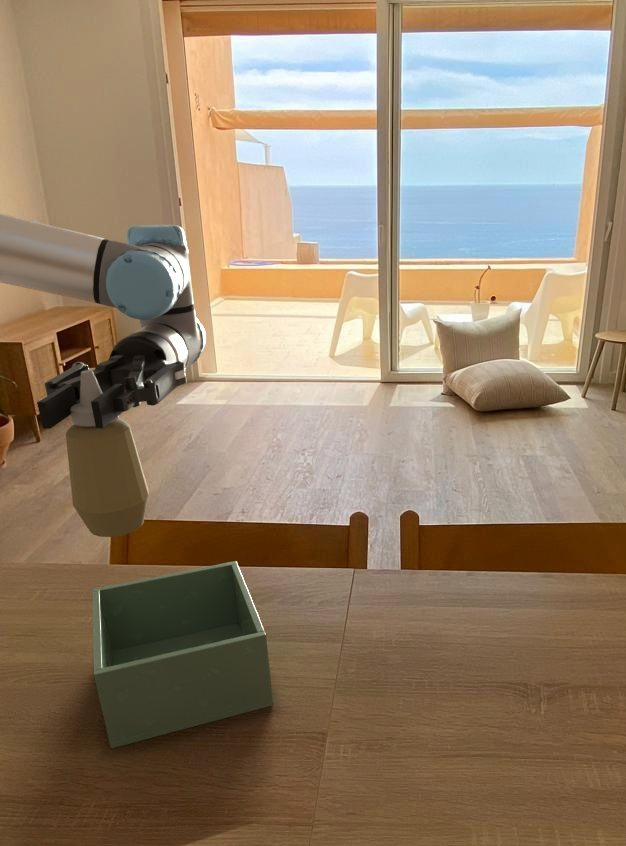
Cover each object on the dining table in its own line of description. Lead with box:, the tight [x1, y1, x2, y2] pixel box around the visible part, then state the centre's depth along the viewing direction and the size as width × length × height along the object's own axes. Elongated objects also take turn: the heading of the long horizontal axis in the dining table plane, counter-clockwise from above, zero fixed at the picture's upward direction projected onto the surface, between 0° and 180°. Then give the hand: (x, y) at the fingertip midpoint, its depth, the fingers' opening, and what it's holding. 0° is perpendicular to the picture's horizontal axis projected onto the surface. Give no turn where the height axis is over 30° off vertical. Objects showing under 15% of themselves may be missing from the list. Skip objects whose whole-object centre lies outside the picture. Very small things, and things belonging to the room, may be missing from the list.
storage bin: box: [91, 560, 274, 749], centre depth 82 cm, size 18×18×10 cm
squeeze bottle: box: [65, 370, 150, 538], centre depth 75 cm, size 8×8×18 cm
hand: (70, 415), depth 68 cm, fingers closed on squeeze bottle, 5 cm apart
